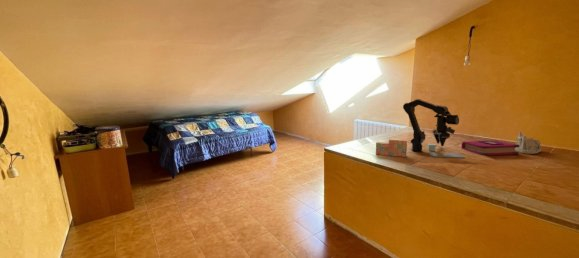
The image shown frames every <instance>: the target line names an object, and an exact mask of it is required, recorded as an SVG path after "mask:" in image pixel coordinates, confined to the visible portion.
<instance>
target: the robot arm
mask: <svg viewBox="0 0 579 258" xmlns="http://www.w3.org/2000/svg"><path fill="white" fill-rule="evenodd" d="M418 106H421V107H422V108H425V109H429V110H431V111H433V113H436V114H435V115H434V116H433V117H434V118H436V124H435V127H436V129H433V130H432V135H433V137H434V138H435V141H436V143H437V144H438V145H439V144H440V147H444V145H445V143H446V140H447V139H449V138H450V137H451V135H454V133H455V132H456V129H454V128H452V127H451V126H448V125H455V126H457V125H459V123H460V117H459V114H452V113H451V112H450V111H449V107H448V106H446V105H445V106H444V105H441V104H440V105H439V104H434V103H432V102H428V101H425V100H422V99H420V98H418V99H417V98H416V99H414V100H412V101H410V102H405V103H403V106H402V108H403V110H404V112H405V113H406V114H407V116H408V118H409V122H410V125H411V128H412V130H413V134H412V135H413V137H412V139H410V143H411V151H412V152H423V145H422V144H423V142H424V141H425V140H426V134H425V131H422V130H421V128H420V124H419V121H418V119H417V117H416V113H415V111H416V107H418ZM447 124H448V125H447Z"/></svg>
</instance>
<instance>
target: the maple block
mask: <svg viewBox="0 0 579 258" xmlns="http://www.w3.org/2000/svg"><path fill="white" fill-rule="evenodd" d="M445 151H446V148H445V147H444V146H436V147H435V151H434V152H435V154H436V155H444V153H446V152H445Z"/></svg>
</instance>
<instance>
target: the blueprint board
mask: <svg viewBox="0 0 579 258" xmlns="http://www.w3.org/2000/svg"><path fill="white" fill-rule="evenodd" d="M427 154H428V155H430V156H431V157H432V158H447V159H448V158H449V159H450V158H451V159H465V158H466V157H465V156H464V155H462V154H460V153H459V152H445V153H444V155H436V154H435V151H428V152H427Z"/></svg>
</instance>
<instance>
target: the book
mask: <svg viewBox="0 0 579 258" xmlns="http://www.w3.org/2000/svg"><path fill="white" fill-rule="evenodd" d="M516 147H519V145H517V144H516V143H512V142H511V143H510V142H506V141H502V140H496V139H495V140H471V141H469V140H468V141H462V142H461V149H463V150H465V151H467V152H470V153H474V154H477V155H479V156H484V157H485V156H486V157H489V156H509V155H513V156H517V155H519V153H520V152H518V151H516V150H515V148H516Z"/></svg>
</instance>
